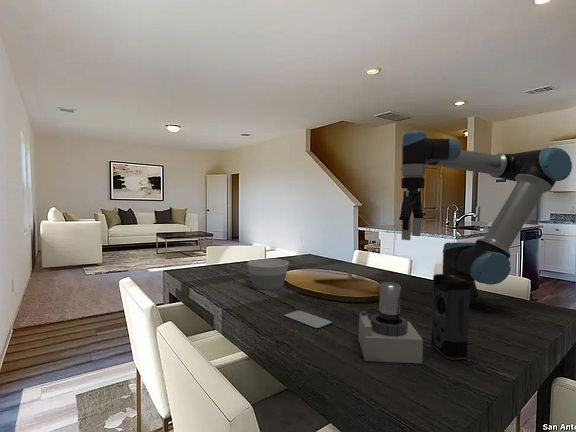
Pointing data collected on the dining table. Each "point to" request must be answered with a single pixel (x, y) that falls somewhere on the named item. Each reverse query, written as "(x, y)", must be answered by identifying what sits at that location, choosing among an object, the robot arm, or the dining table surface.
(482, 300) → the dining table surface
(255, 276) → the bowl
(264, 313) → the dining table surface
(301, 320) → the smartphone
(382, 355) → the grey base with ring
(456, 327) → the electronic device
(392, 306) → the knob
